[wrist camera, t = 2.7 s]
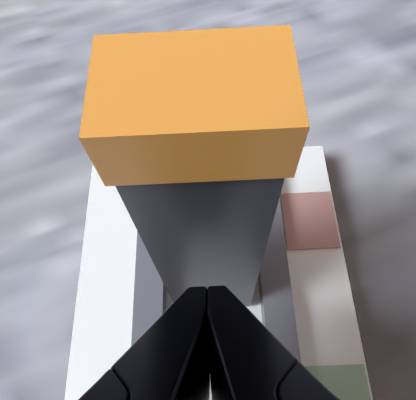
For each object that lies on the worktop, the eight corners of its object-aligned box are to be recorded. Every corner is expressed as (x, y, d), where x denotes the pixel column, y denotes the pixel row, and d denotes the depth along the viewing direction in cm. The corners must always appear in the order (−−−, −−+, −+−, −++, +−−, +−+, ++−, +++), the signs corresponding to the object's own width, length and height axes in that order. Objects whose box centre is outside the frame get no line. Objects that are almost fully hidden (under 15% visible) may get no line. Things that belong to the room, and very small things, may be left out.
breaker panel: (372, 473, 13) (401, 486, 11) (70, 483, 13) (41, 498, 11) (315, 164, 19) (326, 133, 16) (102, 174, 19) (87, 144, 17)
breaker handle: (253, 308, 14) (309, 127, 5) (173, 312, 14) (79, 138, 5) (249, 259, 15) (290, 24, 6) (173, 262, 15) (93, 35, 6)
